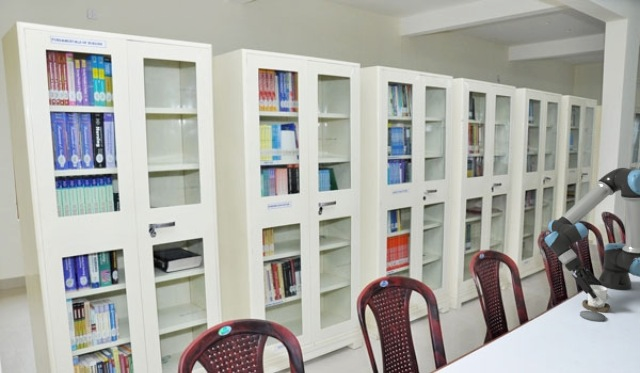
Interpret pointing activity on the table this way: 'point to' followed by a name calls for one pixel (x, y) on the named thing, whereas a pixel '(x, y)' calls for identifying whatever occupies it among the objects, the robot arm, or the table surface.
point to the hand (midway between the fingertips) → (604, 301)
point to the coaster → (592, 316)
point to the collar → (596, 309)
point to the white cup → (600, 291)
